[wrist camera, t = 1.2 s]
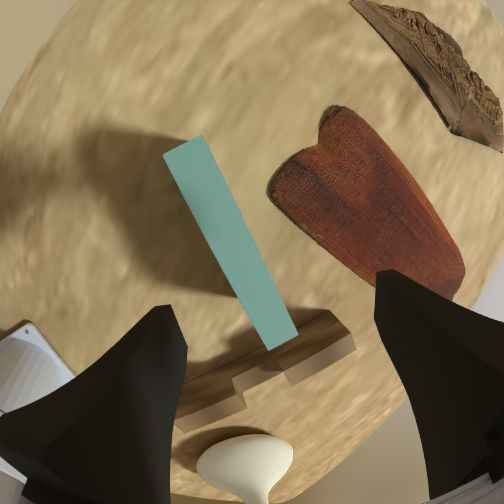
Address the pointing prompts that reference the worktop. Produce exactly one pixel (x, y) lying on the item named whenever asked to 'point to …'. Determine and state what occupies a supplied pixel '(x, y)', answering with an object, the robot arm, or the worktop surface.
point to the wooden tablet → (367, 207)
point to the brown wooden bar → (262, 371)
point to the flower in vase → (246, 465)
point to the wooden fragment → (440, 71)
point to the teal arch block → (230, 239)
